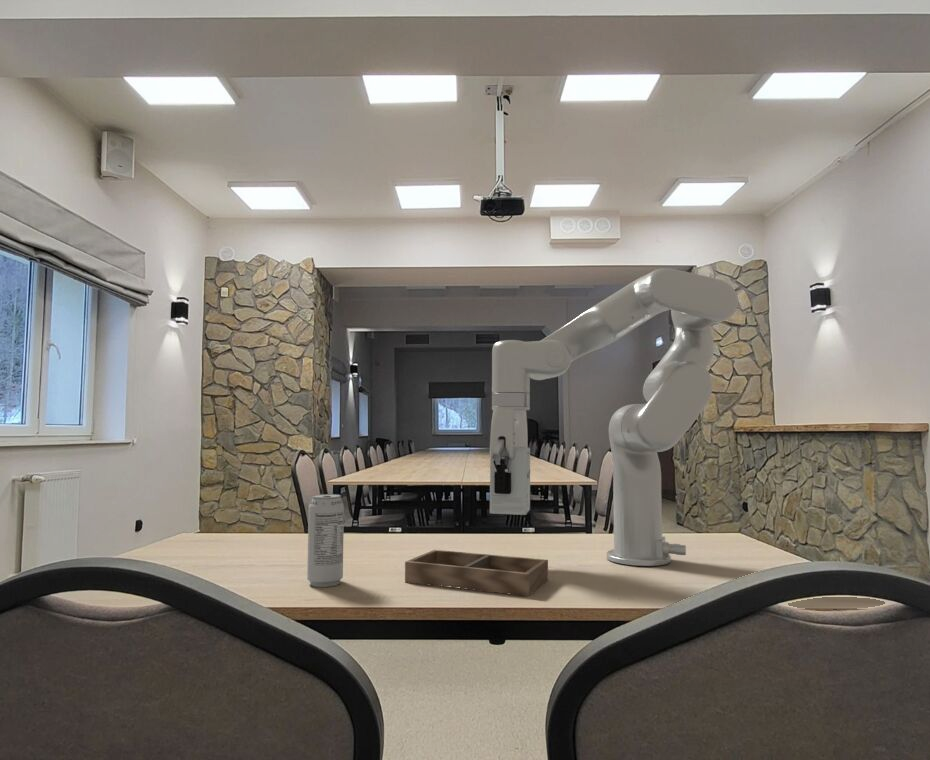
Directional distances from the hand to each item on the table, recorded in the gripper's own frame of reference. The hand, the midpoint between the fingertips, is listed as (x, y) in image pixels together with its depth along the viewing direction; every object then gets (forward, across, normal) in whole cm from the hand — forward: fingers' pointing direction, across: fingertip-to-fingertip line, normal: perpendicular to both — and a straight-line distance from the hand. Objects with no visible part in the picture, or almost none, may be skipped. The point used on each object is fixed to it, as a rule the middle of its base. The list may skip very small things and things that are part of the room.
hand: (510, 491), depth 122 cm
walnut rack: (+14, +14, -1) cm, 20 cm away
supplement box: (+4, 0, 0) cm, 4 cm away
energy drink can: (+15, +26, -25) cm, 39 cm away
